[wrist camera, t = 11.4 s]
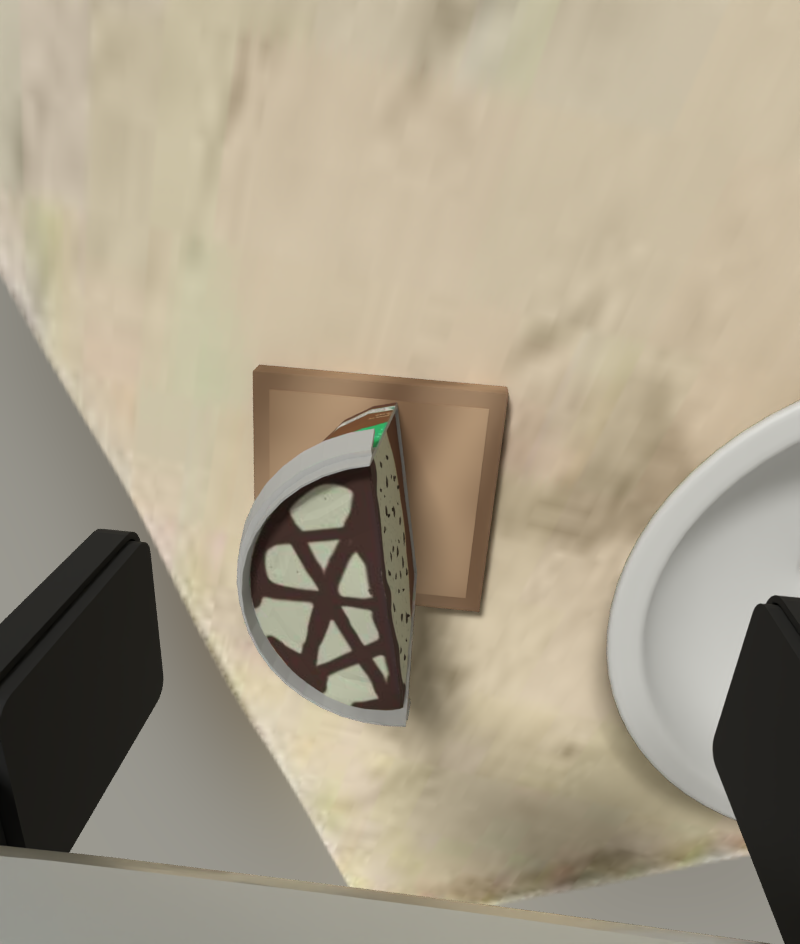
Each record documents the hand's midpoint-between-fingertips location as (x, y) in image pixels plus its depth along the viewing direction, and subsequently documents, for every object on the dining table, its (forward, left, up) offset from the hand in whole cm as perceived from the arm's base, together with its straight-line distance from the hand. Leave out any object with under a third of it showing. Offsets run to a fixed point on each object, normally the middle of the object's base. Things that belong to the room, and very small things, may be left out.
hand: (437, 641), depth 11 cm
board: (+3, +9, -24) cm, 26 cm away
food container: (+4, +9, -23) cm, 25 cm away
